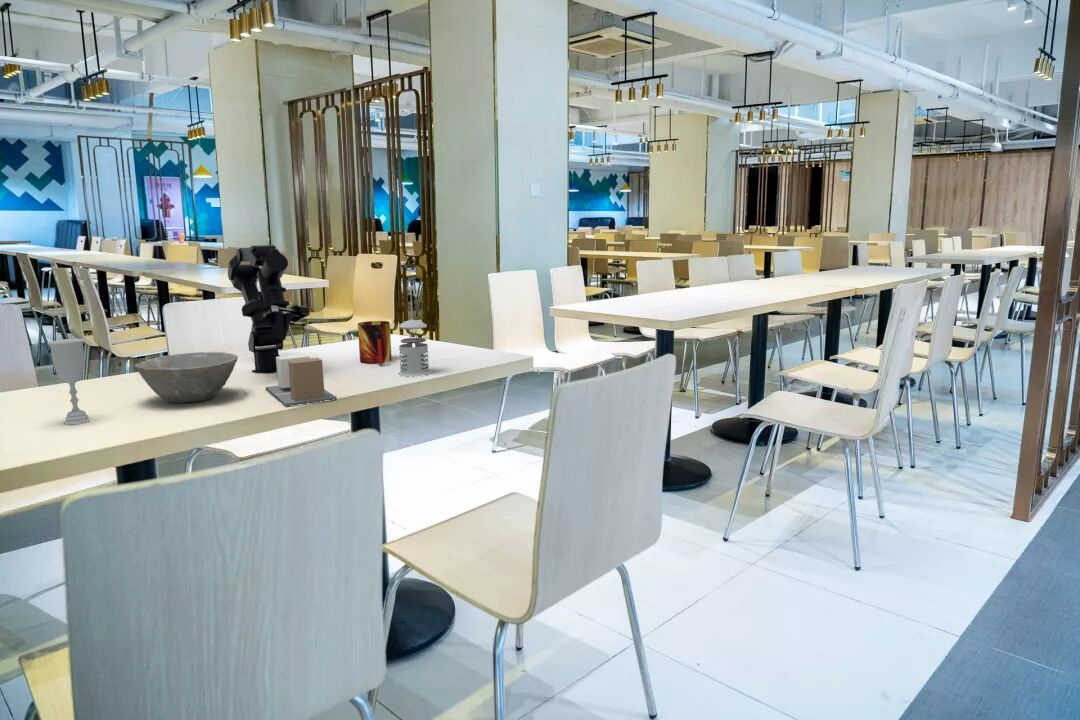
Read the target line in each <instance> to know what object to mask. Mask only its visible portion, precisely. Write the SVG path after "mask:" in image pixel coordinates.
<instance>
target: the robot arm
mask: <svg viewBox="0 0 1080 720" xmlns="http://www.w3.org/2000/svg"><path fill="white" fill-rule="evenodd" d="M243 262H249V264H246V263H245V264H241V263H243ZM288 265H289V261H288V259H287V257H286V256H285V255H284V254H282V253H281V252H280V250H279V249H278V248H277V247H276V245H274V244H266V245H265V244H263V245H260V244H258V245H251V246H249V247H240V248H237V249H236V253H235V255H234V256H233V257H232V258H231V259H230V260H229V261H228V268H227V278H228V280H229V281H230V283H231V285H232V286H233V288H234V289H236V290H238V291H239V292H240V293H241V294H242V297H243V300H244V304H243V305H242V307H241V314H242V316H243V317H248V318H250V319H251V322H252V324H251V329H250V333H249V337H248V343H247V344H248V351H249V352H251V353H253V357H254V358H253V359H254V368H255V369H252V370H251V373H261V374H262V373H263V374H271V373H274V372H277V364H276V357H279V356H281V355H280V354H279V350H283V349H284V341H285V340H286V339H287V335H288V331H289V330H288V329H289V326H290V323H298V322H300V321H301V320H303V319H305V318H307V317H308V316H310V315H311V314H310V310H309V307H307V306H305V305H299V304H296V305H294V306H292V307H290V308H288V306H290V302H289V301H288V300H286V297H285V292H287V288H286V287H283V285H282V282H281V278H282V277H283V275H284V273H285V272H286V269H287V268H288ZM258 286H259V287H258ZM259 290H260V291H259Z"/></svg>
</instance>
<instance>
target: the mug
mask: <svg viewBox="0 0 1080 720" xmlns="http://www.w3.org/2000/svg"><path fill="white" fill-rule="evenodd" d="M357 334H358V335H357V336H358V347H359V348H358V349H359V362H361V363H360V364H363V363H364V364H365V365H378V364H377V363H381V364H386V363H385V362H387V363H390V362H391V360H393V359H392V341H391V339H392V338H391V323H390V321H388V320H387V321H386V320H371V321H370V320H369V321H368V320H367V321H361V322H358V323H357ZM389 361H390V362H389Z"/></svg>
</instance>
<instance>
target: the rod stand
mask: <svg viewBox="0 0 1080 720" xmlns="http://www.w3.org/2000/svg"><path fill="white" fill-rule="evenodd" d="M288 365H289V377H290V387H286V388H282V387H281V386H280V385H278V384H277V385H271V386H265V391H266V392H267V391H268V392H267V393H268V394H269V395H271V396H272V397H273V396H274V397H275V398H274V397H273V398H274V399H275V400H277V401H278V403H280V402H281V403H282V404H281V403H280V404H281V405H283V406H284V407H285V406H290V407H292V406H291V405H298V404H305V405H308V404H307V403H312V404H314V403H313V402H319V403H321V402H320V401H325V400H333V399H334V401H337V396H335V395H334V394H332V393H331V392H329V391H328V390H326V389H325V381H324V370H323V369H324V367H323V366H324V365H323V359H320V358H319V357H314V358H313V357H312V358H310V359H301V360H292V361H288ZM298 406H299V405H298Z"/></svg>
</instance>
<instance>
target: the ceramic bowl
mask: <svg viewBox="0 0 1080 720" xmlns="http://www.w3.org/2000/svg"><path fill="white" fill-rule="evenodd" d="M238 360H239V357H238V355H236V354H233V353H228V352H220V351H219V352H217V351H211V352H187V353H186V352H185V353H176V354H170V355H162V356H156V357H153V358H149V359H146V360H141V361H140V362H138V363H136V364H134V368H135V369H136V371H137V372H138V373H139V375H140V376H141V378H142V379H143V381H145V383H146V385H148V386H149V388H150V389H151V390H152V391H153V392H154V393H155V394H156V395H158V397H160V398H161V399H163V401H166V402H168V403H172V404H180V403H181V404H183V403H184V402H187V403H196V402H203V401H206V400H208V399H211V398H212V397H215V396H216V395H218V394H219V393H220V391H221V390H222V389H223V387H224V386H225V385H226V384H227V381H228V380H229V378H230V376H231V375H232V372H233V370H234V368H235V366H236V364H237V362H238ZM184 404H185V403H184Z"/></svg>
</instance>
